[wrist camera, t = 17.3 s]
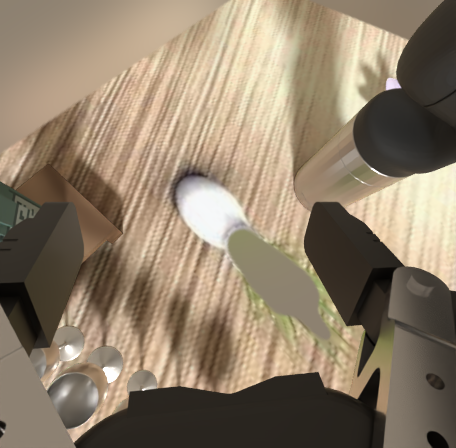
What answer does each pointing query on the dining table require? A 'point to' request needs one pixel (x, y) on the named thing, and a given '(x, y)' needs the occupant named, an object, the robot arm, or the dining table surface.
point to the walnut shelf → (87, 214)
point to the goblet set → (83, 376)
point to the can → (14, 209)
